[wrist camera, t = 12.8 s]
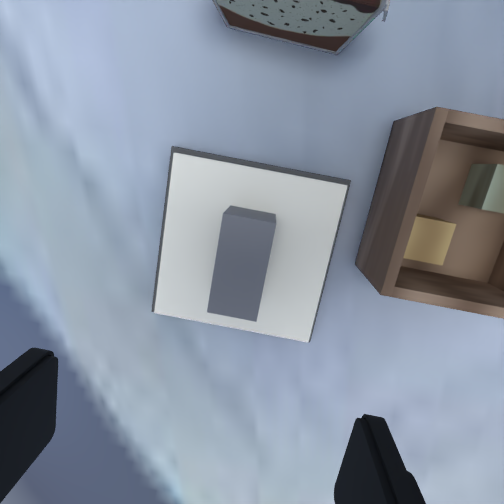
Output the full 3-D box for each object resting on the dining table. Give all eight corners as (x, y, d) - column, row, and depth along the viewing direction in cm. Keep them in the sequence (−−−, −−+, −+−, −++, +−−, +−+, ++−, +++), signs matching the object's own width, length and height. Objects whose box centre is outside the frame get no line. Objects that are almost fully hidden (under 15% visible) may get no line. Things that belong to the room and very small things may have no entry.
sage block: (512, 171, 30) (542, 172, 26) (497, 211, 31) (525, 217, 27) (471, 163, 30) (497, 164, 26) (458, 204, 31) (481, 209, 27)
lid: (344, 184, 31) (362, 190, 25) (307, 336, 34) (314, 373, 28) (177, 152, 31) (154, 150, 25) (158, 308, 34) (134, 338, 28)
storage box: (543, 149, 30) (638, 145, 22) (489, 289, 33) (556, 328, 25) (393, 121, 30) (436, 106, 22) (354, 264, 33) (380, 294, 25)
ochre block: (436, 217, 31) (456, 224, 28) (424, 254, 32) (442, 265, 29) (397, 210, 31) (413, 215, 28) (386, 247, 32) (400, 257, 29)
